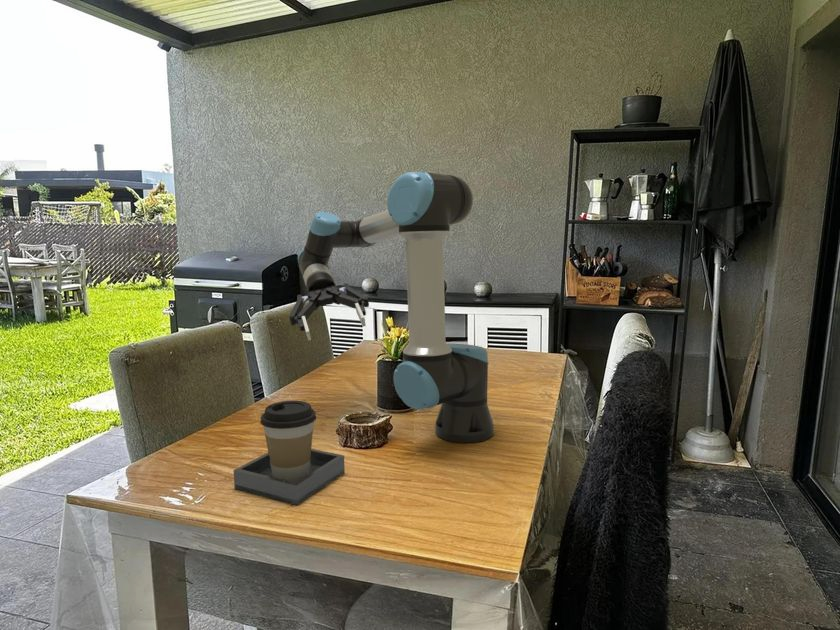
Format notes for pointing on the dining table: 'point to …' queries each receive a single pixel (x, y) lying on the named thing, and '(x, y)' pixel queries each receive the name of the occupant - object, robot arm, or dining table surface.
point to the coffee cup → (289, 438)
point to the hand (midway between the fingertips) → (336, 328)
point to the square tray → (263, 483)
